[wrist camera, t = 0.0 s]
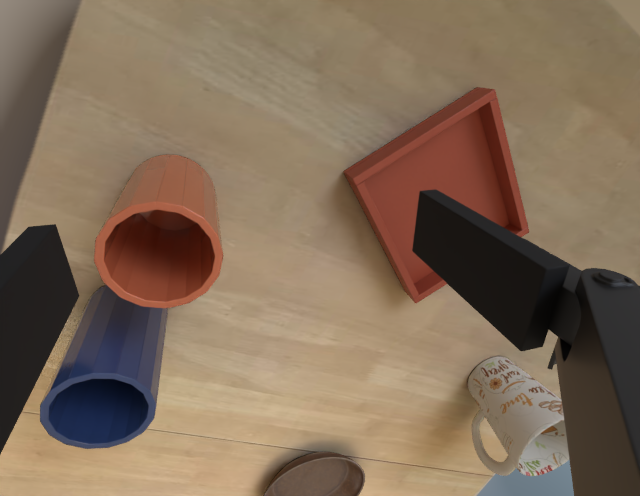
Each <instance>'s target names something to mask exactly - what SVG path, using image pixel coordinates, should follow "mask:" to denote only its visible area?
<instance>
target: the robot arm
mask: <svg viewBox="0 0 640 496" xmlns="http://www.w3.org/2000/svg"><path fill="white" fill-rule="evenodd" d="M412 251H413V252H414V253H415V254H416V255H417V256H418V257H419V258H420V259H421V260H422V261H423V262H424V263H426V264H427V265H428V266H429V267H430V268H431V269H432V270H433V271H434V272H435V273H436V274H437V275H439V276H440V277H441V278H442V279H443V280H444V281H445V282H446V283H447V284H448V285H449V286H451V287H452V288H453V289H454V290H455V291H456V292H457V293H458V294H459V295H460V296H461V297H462V298H464V299H465V300H466V301H467V302H468V303H469V304H470V305H471V306H472V307H473V308H474V309H476V310H477V311H478V312H479V313H480V314H481V315H482V316H483V317H484V318H485V319H486V320H487V321H489V322H490V323H491V324H492V325H493V326H494V327H495V328H496V329H497V330H498V331H499V332H501V333H502V334H503V335H504V336H505V337H506V338H507V339H508V340H509V341H510V342H511V343H512V344H514V345H515V346H516V347H517V348H518V349H519V350H520V351H525V350H529V349H534V348H538V347H543V344H544V341H545V338H546V335H547V332H548V329H549V330H550V331H552V332H553V333H554V334H555V335H557V336H558V339H557V342H556V345H555V348H554V350H553V353H552V356H551V359H550V362H549V365H548V369H552V368H553V365H554V364H557V369H558V377H559V384H560V392H561V399H562V407H563V414H564V422H565V429H566V437H567V444H568V452H569V459H570V467H571V473H572V481H573V489H574V496H640V286H638V285H637V284H636V283H635V281H633V280H632V279H631V278H629V277H627V276H625V275H622V274H620V273H617V272H614V271H610V270H606V269H598V268H591V269H585V270H583V271H581V270H579V269H577V268H576V267H574V266H572V265H570V264H568V263H567V262H565V261H563V260H561V259H560V258H558V257H556V256H554V255H552V254H550V253H549V252H547V251H545V250H544V249H542V248H539V247H538V246H537V245H535V244H533V243H531V242H529V241H528V240H525V239H523V238H521V237H519V236H518V235H516V234H514V233H512V232H511V231H509V230H507V229H505V228H504V227H502V226H500V225H498V224H497V223H495V222H493V221H491V220H489V219H488V218H486V217H484V216H482V215H481V214H479V213H477V212H475V211H474V210H472V209H470V208H468V207H467V206H465V205H463V204H461V203H459V202H458V201H456V200H454V199H452V198H451V197H449V196H447V195H445V194H444V193H442V192H440V191H438V190H436V189H435V190H424V191H420V192H419V200H418V208H417V216H416V224H415V232H414V240H413V248H412ZM78 297H79V293H78V290H77V287H76V284H75V281H74V278H73V275H72V272H71V269H70V266H69V263H68V260H67V257H66V254H65V251H64V248H63V245H62V242H61V239H60V236H59V233H58V230H57V227H56V224H55V225H44V226H33V227H28V228H27V229H26V230H25V231H24V232H23V233H22V234H21V235H20V236H19V237H18V238H17V239H16V240H15V241H14V242H13V243H12V244H11V245H10V246H9V247H8V248H7V249H6V250H5V251H4V252H3V253H2V254H1V255H0V454H1V452H2V450H3V448H4V446H5V444H6V442H7V440H8V438H9V436H10V434H11V432H12V430H13V428H14V426H15V424H16V422H17V420H18V418H19V416H20V414H21V412H22V410H23V408H24V406H25V404H26V402H27V400H28V398H29V396H30V394H31V392H32V390H33V388H34V386H35V384H36V382H37V380H38V378H39V376H40V374H41V372H42V370H43V368H44V366H45V364H46V361H47V359H48V357H49V355H50V353H51V351H52V349H53V347H54V345H55V343H56V341H57V339H58V337H59V335H60V333H61V331H62V329H63V327H64V325H65V323H66V321H67V319H68V317H69V315H70V313H71V311H72V309H73V307H74V305H75V303H76V301H77V299H78Z"/></svg>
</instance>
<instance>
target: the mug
mask: <svg viewBox="0 0 640 496" xmlns="http://www.w3.org/2000/svg"><path fill="white" fill-rule="evenodd" d="M468 389H469V391H470V393H471V394H472V396H473V398H474V399H475V401H476V403H477V404H478V406H479V408H480V410H479V411H478V413H477V414H476V416H475V417H474V420H473V422H472V438H473V443H474V447H475V450H476V452H477V455H478V457H479V458H480V460H481V461H482V463H483V464H484V465H485V466H486V467H487V468H488V469H489V470H491V471H492V472H494V473H496V474H499V475H503V476H506V475H509V474H511V473H512V472H513V471H514V470H515V468H517V469H518V470H519V471H520V472H521V473H522V474H524V475H528V476H537V475H541V474H544V473H547V472H550V471H552V470H554V469H556V468H558V467H559V466H561V465H562V464H564V463H565V462H566V461H568V460H569V452H568V444H567V437H566V429H565V422H564V414H563V407H562V400H561V399H560V398H559V397H557V396H556V395H555V394H553V393H552V392H551V391H549V390H548V389H547V388H545V387H544V386H543V385H542V384H540V383H539V382H538V381H536V380H535V379H534V378H532V377H531V376H530V375H528V374H527V373H526V372H524V371H523V370H522V369H521V368H519V367H518V366H517V365H515V364H514V363H513V362H511V361H510V360H509V359H507V358H505V357H500V356H499V357H492V358H489V359H487V360H485V361H484V362H482V363H481V364H479V365H478V366H477V367H476V368H475V369H474V370H473V372H472V373H471V375H470V377H469V379H468ZM484 417H486V419H487V421H488V422H489V424H490V426H491V427H492V429H493V431H494V432H495V434H496V435H497V437H498V439H499V440H500V442H501V444H502V445H503V447H504V449H505V450H506V452H507V454H508V457H507V458H506V460H505V461H504V462H497V461H495V460H493V459H492V458H491V457H490V456H489V455H488V454H487V453H486V451H485V449H484V447H483V444H482V441H481V437H480V431H479V426H480V423H481V422H482V420H483V419H484Z"/></svg>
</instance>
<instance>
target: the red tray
mask: <svg viewBox="0 0 640 496" xmlns="http://www.w3.org/2000/svg"><path fill="white" fill-rule="evenodd" d="M496 97H497V96H496V92H495V89H487V88H479V87H477V88H475V89H474V90H472V91H470V92H469V93H467V94H466V95H464V96H462V97H461V98H459V99H458V100H456V101H455V102H453V103H451V104H450V105H448V106H447V107H445V108H443V109H442V110H440V111H439V112H437V113H435V114H434V115H432V116H431V117H429V118H427V119H426V120H424V121H423V122H421V123H420V124H418V125H416V126H415V127H413V128H412V129H410V130H408V131H407V132H405V133H404V134H402V135H400V136H399V137H397V138H396V139H394V140H393V141H391V142H389V143H388V144H386V145H385V146H383V147H381V148H380V149H378V150H377V151H375V152H373V153H372V154H370V155H369V156H367V157H365V158H364V159H362V160H361V161H359V162H358V163H356V164H354V165H353V166H351V167H350V168H348V169H346V170H345V171H344V174H345V176H346V178H347V180H348V182H349V183H350V185H351V187H352V189H353V191H354V193H355V195H356V197H357V199H358V201H359V203H360V205H361V207H362V209H363V211H364V213H365V215H366V216H367V218H368V220H369V222H370V224H371V226H372V228H373V230H374V232H375V234H376V236H377V238H378V240H379V242H380V244H381V246H382V248H383V250H384V251H385V253H386V255H387V257H388V259H389V261H390V263H391V265H392V267H393V269H394V271H395V273H396V275H397V277H398V279H399V281H400V283H401V284H402V286H403V288H404V290H405V292H406V293H407V294H408V295H409V296H410V298H411V299H412V300H413V301H414V302H415V303H417V302H419V301H420V300H422V299H424V298H425V297H427V296H428V295H430V294H431V293H433V292H435V291H436V290H438V289H439V288H441V287H443V286H444V285H446V284H447V283H446V282H445V281H444V280H443V279H442V278H441V277H440V276H439V275H437V274H436V273H435V272H434V271H433V270H432V269H431V268H430V267H429V266H428V265H427V264H426V263H424V262H423V261H422V260H421V259H420V258H419V257H418V256H417V255H416V254H415V253H414V252H413V251H412V248H413V240H414V232H415V224H416V216H417V208H418V200H419V192H420V191H424V190H435V189H436V190H438V191H440V192H442V193H444V194H445V195H447V196H449V197H451V198H452V199H454V200H456V201H458V202H459V203H461V204H463V205H465V206H467V207H468V208H470V209H472V210H474V211H475V212H477V213H479V214H481V215H482V216H484V217H486V218H488V219H489V220H491V221H493V222H495V223H497V224H498V225H500V226H502V227H504V228H505V229H507V230H509V231H511V232H512V233H514V234H516V235H518V236H519V237H522V236H524V235H525V234H527V233H529V229H528V225H527V220H526V216H525V212H524V208H523V204H522V200H521V195H520V191H519V187H518V183H517V179H516V175H515V170H514V166H513V162H512V158H511V154H510V149H509V145H508V141H507V137H506V133H505V129H504V124H503V120H502V116H501V112H500V108H499V104H498V99H497V98H496Z"/></svg>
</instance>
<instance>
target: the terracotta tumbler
mask: <svg viewBox="0 0 640 496" xmlns="http://www.w3.org/2000/svg"><path fill="white" fill-rule="evenodd" d="M222 260H223V249H222V241H221V232H220V224H219V216H218V207H217V199H216V194H215V189H214V185H213V182H212V180H211V178H210V177H209V175H208V174H207V172H206V171H205V170H204V169H203V168H202V167H201V166H200V165H198V164H197V163H196V162H194V161H192V160H190V159H188V158H186V157H182V156H178V155H159V156H155V157H152V158H150V159H148V160H146V161H144V162H143V163H142V164H140V165H139V166H138V167H137V168H136V170H135V171H134V173H133V174H132V176H131V177H130V179H129V181H128V182H127V184H126V186H125V188H124V189H123V191H122V193H121V195H120V197H119V198H118V200H117V202H116V204H115V205H114V207H113V209H112V211H111V213H110V214H109V216H108V218H107V220H106V221H105V223H104V225H103V227H102V229H101V230H100V232H99V234H98V236H97V237H96V240H95V254H94V262H95V264H96V267H97V269H98V271H99V274H100V276H101V278H102V280H103V281H104V283H105V284H106V285H107V286H108V287H109V288H110V289H112V290H113V291H114V292H115V293H116V294H117V295H118V296H119V297H121V298H123V299H125V300H127V301H130V302H132V303H135V304H137V305H140V306H143V307H154V308H170V307H175V306H179V305H183V304H187V303H190V302H191V301H193V300H195V299H196V298H198V297H199V296H201V295H202V294H204V293H206V292H207V291H208V290H209V288H210V287H211V286H212V284H213V283H214V282H215V280H216V279H217V278H218V276H219V274H220V269H221V265H222Z"/></svg>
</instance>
